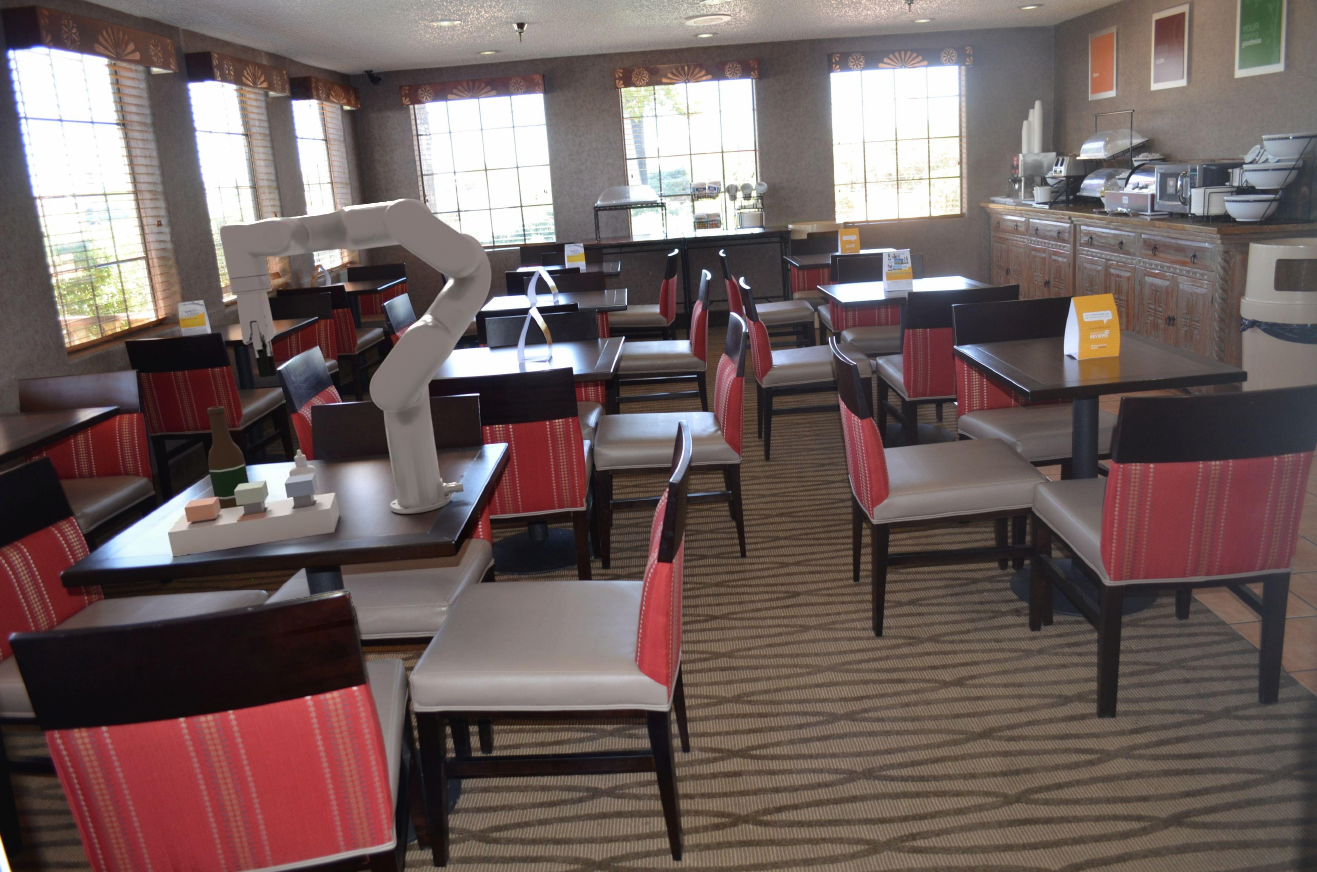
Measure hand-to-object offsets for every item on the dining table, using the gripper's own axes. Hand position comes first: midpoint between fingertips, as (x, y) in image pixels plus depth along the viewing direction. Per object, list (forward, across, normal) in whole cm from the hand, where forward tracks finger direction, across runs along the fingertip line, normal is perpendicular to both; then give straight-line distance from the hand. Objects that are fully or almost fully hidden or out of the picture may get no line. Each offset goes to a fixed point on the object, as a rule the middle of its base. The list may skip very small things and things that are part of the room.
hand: (268, 375), depth 195 cm
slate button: (+29, +8, +3) cm, 30 cm away
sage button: (+28, +8, -6) cm, 30 cm away
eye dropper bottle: (+31, -13, +1) cm, 34 cm away
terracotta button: (+30, +8, -16) cm, 35 cm away
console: (+31, +8, -6) cm, 32 cm away
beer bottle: (+31, -12, -14) cm, 36 cm away
